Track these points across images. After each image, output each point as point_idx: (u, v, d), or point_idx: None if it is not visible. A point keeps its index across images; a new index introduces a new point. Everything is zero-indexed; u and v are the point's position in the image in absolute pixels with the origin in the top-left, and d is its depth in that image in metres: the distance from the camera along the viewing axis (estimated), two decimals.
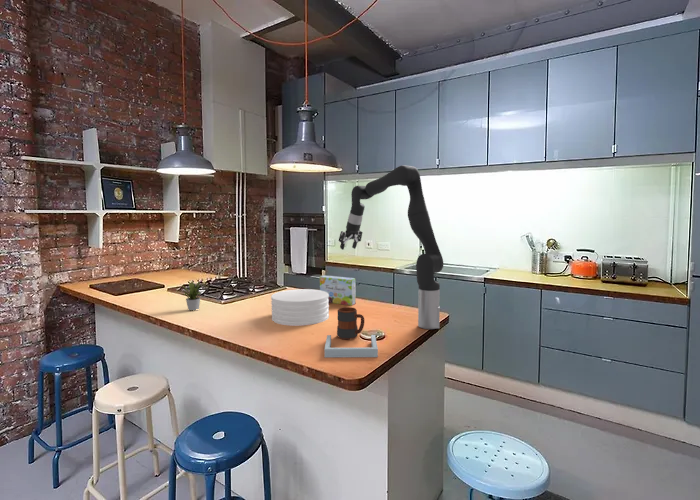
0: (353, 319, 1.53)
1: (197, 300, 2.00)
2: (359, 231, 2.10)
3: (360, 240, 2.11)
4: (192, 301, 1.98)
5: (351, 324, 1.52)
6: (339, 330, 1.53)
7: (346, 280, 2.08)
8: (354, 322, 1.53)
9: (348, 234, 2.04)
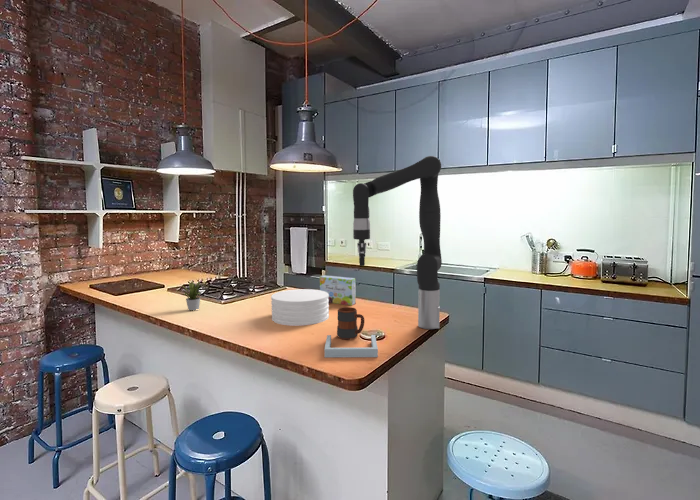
0: (353, 319, 1.53)
1: (197, 300, 2.00)
2: None
3: None
4: (192, 301, 1.98)
5: (351, 324, 1.52)
6: (339, 330, 1.53)
7: (346, 280, 2.08)
8: (354, 322, 1.53)
9: None
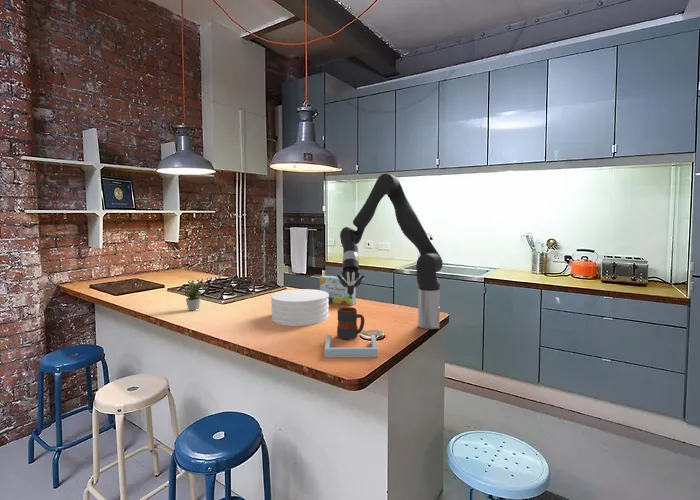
0: (353, 319, 1.53)
1: (197, 300, 2.00)
2: None
3: (357, 283, 1.68)
4: (192, 301, 1.98)
5: (351, 324, 1.52)
6: (339, 330, 1.53)
7: None
8: (354, 322, 1.53)
9: (344, 273, 1.71)
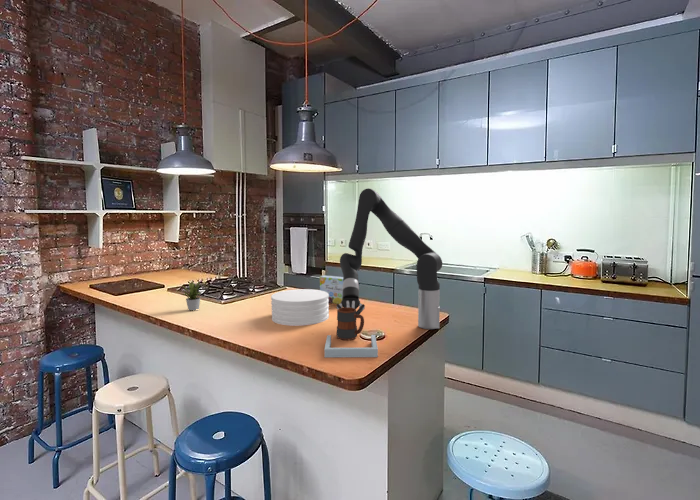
0: (353, 319, 1.52)
1: (197, 300, 2.00)
2: None
3: (357, 312, 1.62)
4: (192, 301, 1.98)
5: (351, 324, 1.52)
6: (339, 330, 1.53)
7: None
8: (354, 322, 1.53)
9: (344, 302, 1.66)
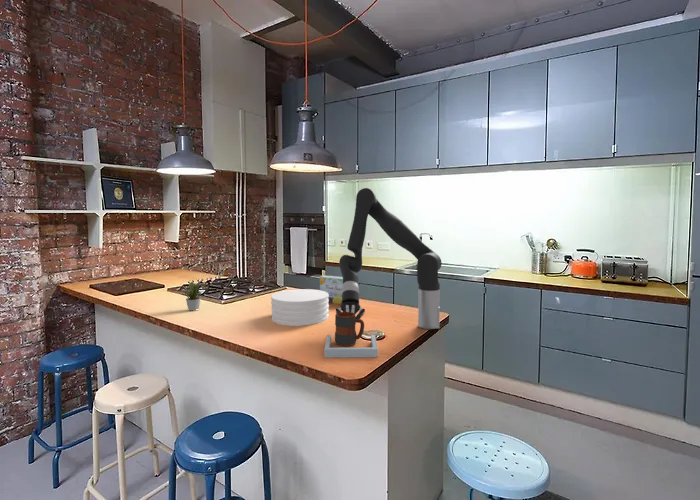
0: (352, 324, 1.45)
1: (197, 300, 2.00)
2: (362, 309, 1.59)
3: (357, 317, 1.55)
4: (192, 301, 1.98)
5: (350, 330, 1.45)
6: (338, 336, 1.45)
7: None
8: (353, 327, 1.46)
9: (343, 306, 1.58)
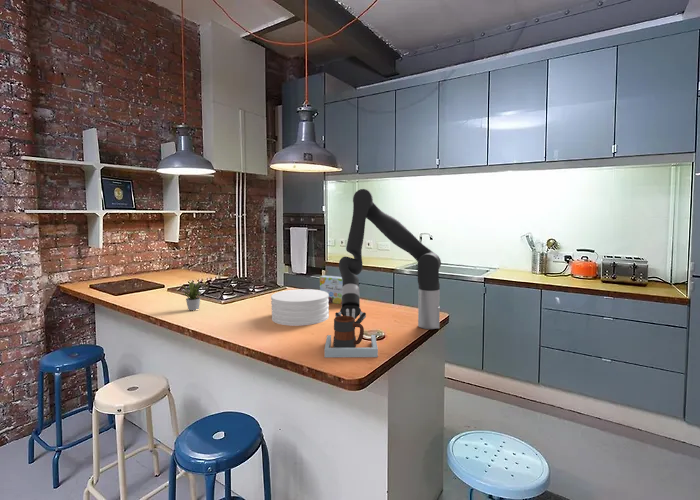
0: (351, 329, 1.39)
1: (197, 300, 2.00)
2: (363, 313, 1.53)
3: (357, 321, 1.49)
4: (192, 301, 1.98)
5: (349, 334, 1.39)
6: (336, 341, 1.40)
7: None
8: (352, 332, 1.40)
9: (343, 310, 1.53)
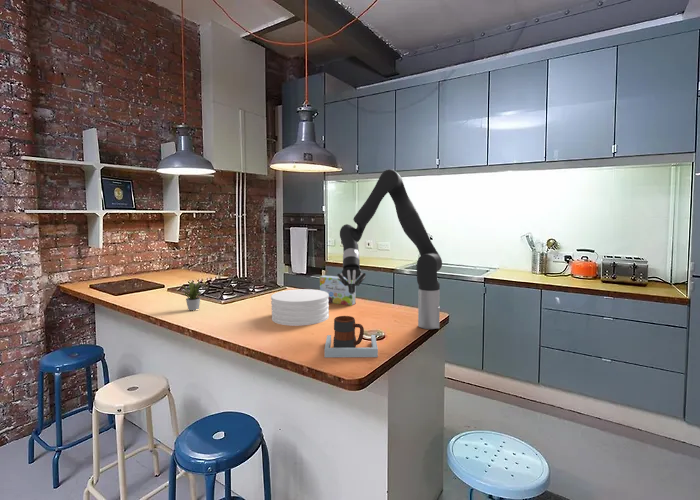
0: (351, 329, 1.39)
1: (197, 300, 2.00)
2: None
3: (358, 281, 1.61)
4: (192, 301, 1.98)
5: (349, 335, 1.39)
6: (336, 341, 1.40)
7: (346, 280, 2.08)
8: (352, 332, 1.40)
9: (345, 271, 1.65)
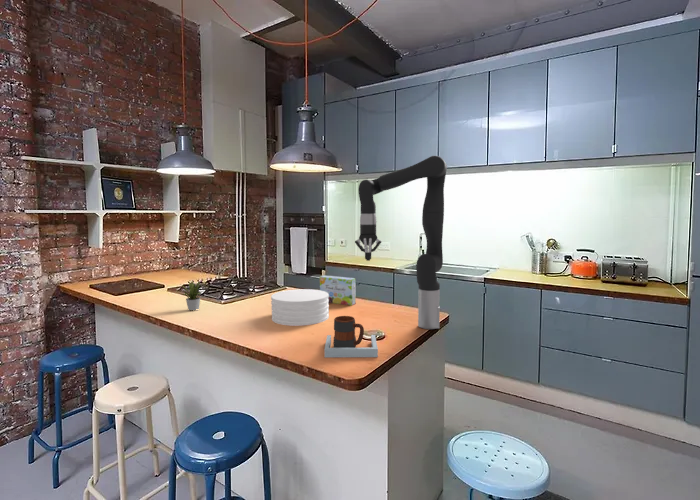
0: (351, 329, 1.39)
1: (197, 300, 2.00)
2: (379, 240, 1.75)
3: (373, 250, 1.74)
4: (192, 301, 1.98)
5: (349, 335, 1.39)
6: (336, 341, 1.40)
7: (346, 280, 2.08)
8: (352, 332, 1.40)
9: (361, 238, 1.75)
